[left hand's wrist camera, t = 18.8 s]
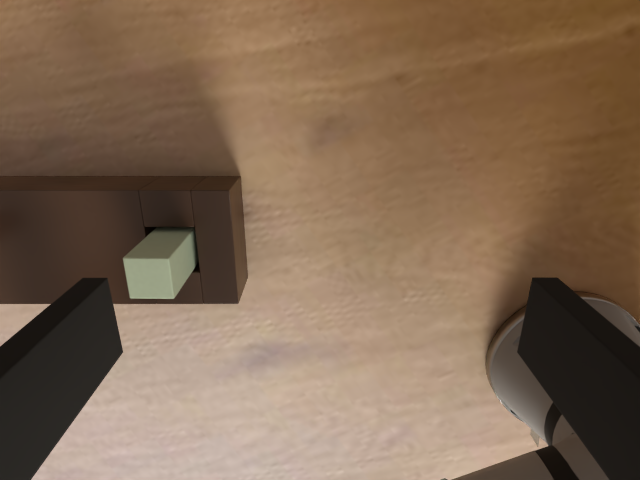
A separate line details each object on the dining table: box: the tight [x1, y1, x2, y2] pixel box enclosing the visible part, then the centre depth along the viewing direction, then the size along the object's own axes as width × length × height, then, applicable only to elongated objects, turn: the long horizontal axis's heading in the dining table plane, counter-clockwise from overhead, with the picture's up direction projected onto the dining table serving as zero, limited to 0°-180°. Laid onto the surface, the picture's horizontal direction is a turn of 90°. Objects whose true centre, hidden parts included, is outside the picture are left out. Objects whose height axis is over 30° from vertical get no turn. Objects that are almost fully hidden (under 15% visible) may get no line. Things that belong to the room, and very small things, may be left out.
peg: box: [123, 227, 199, 299], centre depth 34 cm, size 3×3×10 cm
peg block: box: [0, 176, 248, 304], centre depth 33 cm, size 26×10×12 cm, turn 90°
